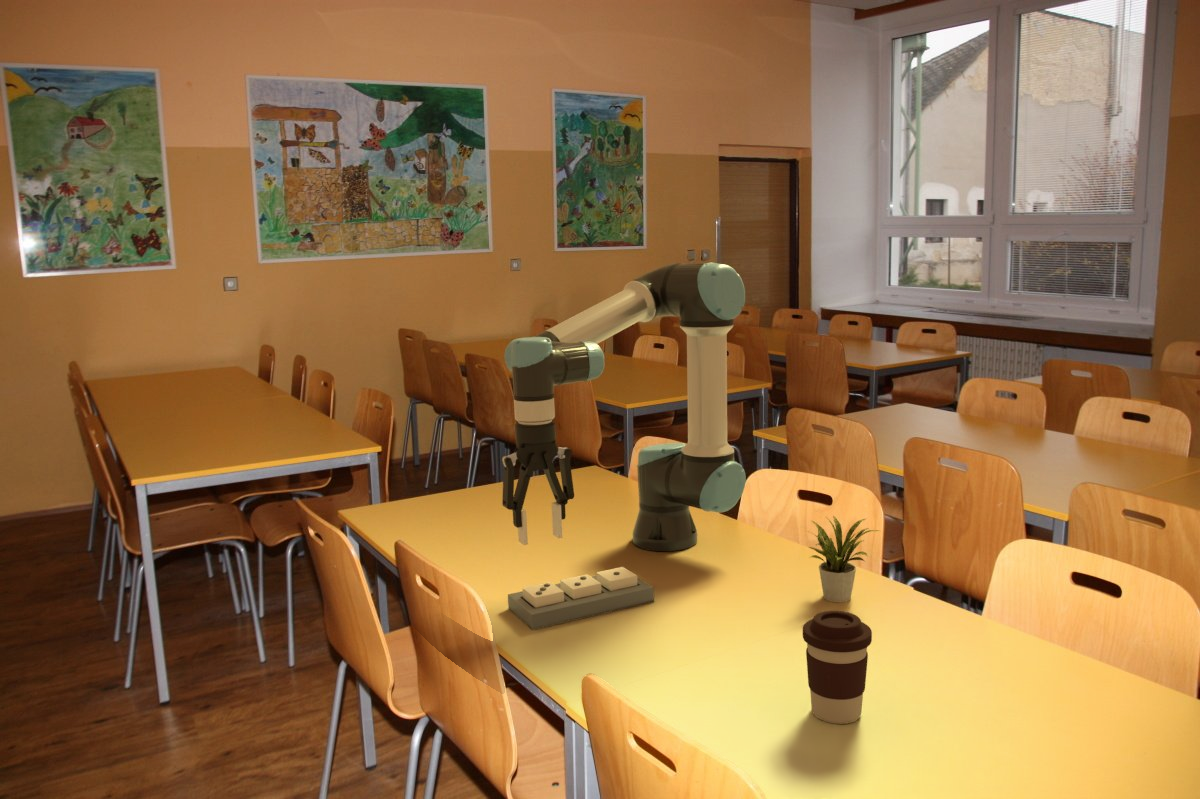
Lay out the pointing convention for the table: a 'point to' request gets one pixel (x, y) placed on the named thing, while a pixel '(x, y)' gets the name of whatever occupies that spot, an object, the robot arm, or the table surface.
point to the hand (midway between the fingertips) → (540, 539)
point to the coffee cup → (836, 664)
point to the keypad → (579, 605)
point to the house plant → (838, 561)
